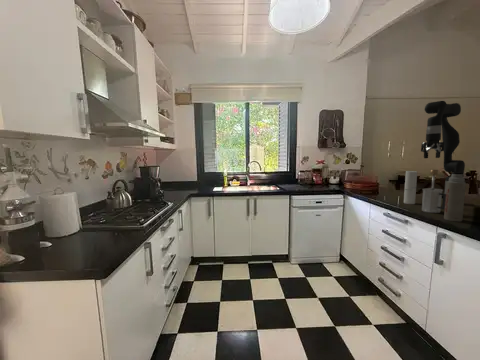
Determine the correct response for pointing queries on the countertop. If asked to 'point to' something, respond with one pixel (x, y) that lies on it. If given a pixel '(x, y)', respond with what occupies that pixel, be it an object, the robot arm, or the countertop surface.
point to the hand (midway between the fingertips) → (431, 158)
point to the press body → (433, 200)
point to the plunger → (433, 177)
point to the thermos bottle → (455, 197)
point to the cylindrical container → (410, 187)
